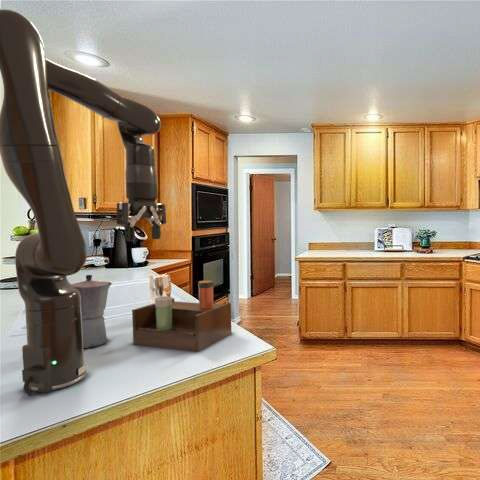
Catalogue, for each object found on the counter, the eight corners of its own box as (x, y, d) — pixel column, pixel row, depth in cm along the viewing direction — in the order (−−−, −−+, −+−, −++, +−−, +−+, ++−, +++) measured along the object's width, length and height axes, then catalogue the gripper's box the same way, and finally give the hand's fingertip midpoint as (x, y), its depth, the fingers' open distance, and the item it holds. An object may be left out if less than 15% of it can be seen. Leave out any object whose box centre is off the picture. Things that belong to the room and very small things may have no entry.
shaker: (164, 331, 100) (163, 300, 100) (152, 330, 102) (151, 299, 101) (176, 326, 105) (175, 296, 104) (164, 325, 106) (163, 296, 105)
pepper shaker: (207, 309, 105) (207, 283, 105) (195, 308, 106) (195, 282, 106) (216, 306, 109) (216, 280, 109) (205, 305, 110) (204, 280, 110)
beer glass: (147, 319, 125) (146, 277, 124) (153, 314, 131) (152, 274, 130) (169, 318, 127) (168, 277, 126) (174, 313, 133) (172, 274, 132)
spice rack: (198, 351, 96) (197, 315, 95) (133, 343, 101) (132, 309, 101) (231, 333, 111) (230, 302, 110) (172, 327, 116) (171, 298, 115)
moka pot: (124, 337, 107) (121, 272, 105) (70, 357, 92) (66, 281, 90) (100, 334, 109) (97, 270, 108) (44, 353, 94) (40, 279, 93)
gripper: (151, 184, 106) (153, 238, 107) (107, 180, 92) (109, 241, 93) (172, 184, 104) (174, 238, 105) (130, 179, 90) (132, 242, 92)
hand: (143, 240), depth 99 cm, fingers open, 8 cm apart
